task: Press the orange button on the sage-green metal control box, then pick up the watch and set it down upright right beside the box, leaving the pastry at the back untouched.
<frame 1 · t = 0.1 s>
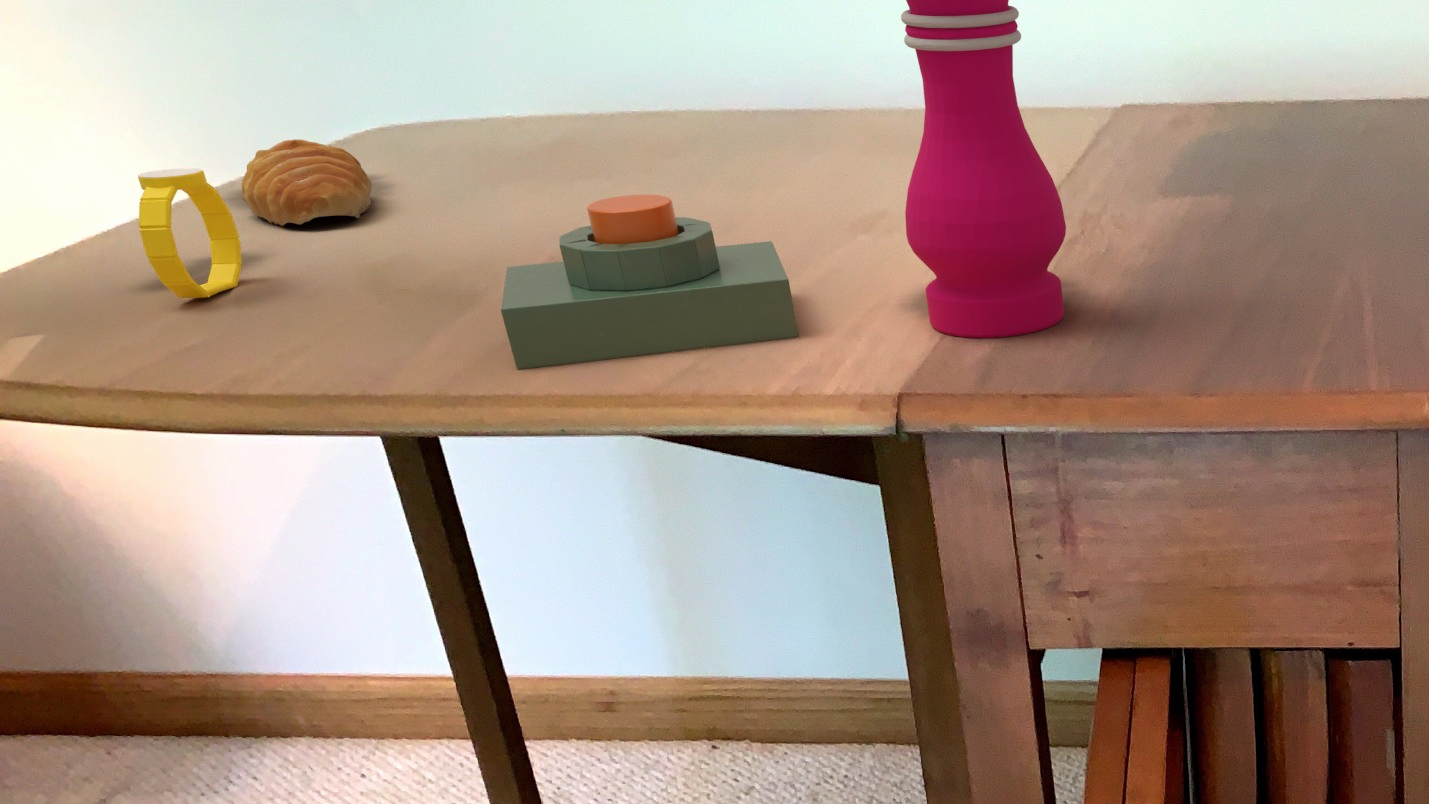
pepper mill: (998, 324, 81), on the table
button: (633, 222, 77), point 5 cm above the table, slide at 0.1 cm
pastry: (321, 216, 103), on the table
control box: (658, 330, 80), on the table
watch: (212, 297, 87), on the table
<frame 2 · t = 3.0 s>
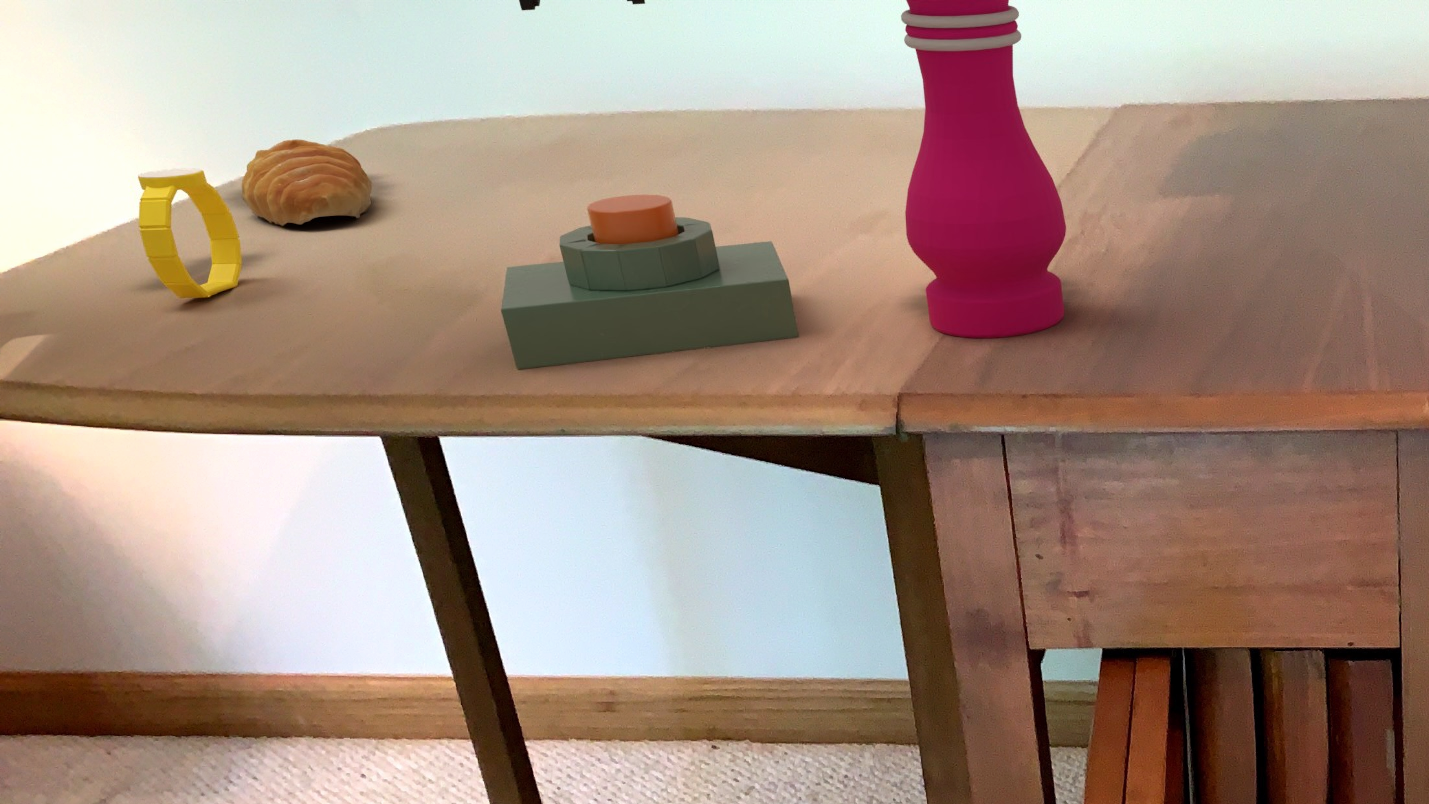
nothing on the table moved.
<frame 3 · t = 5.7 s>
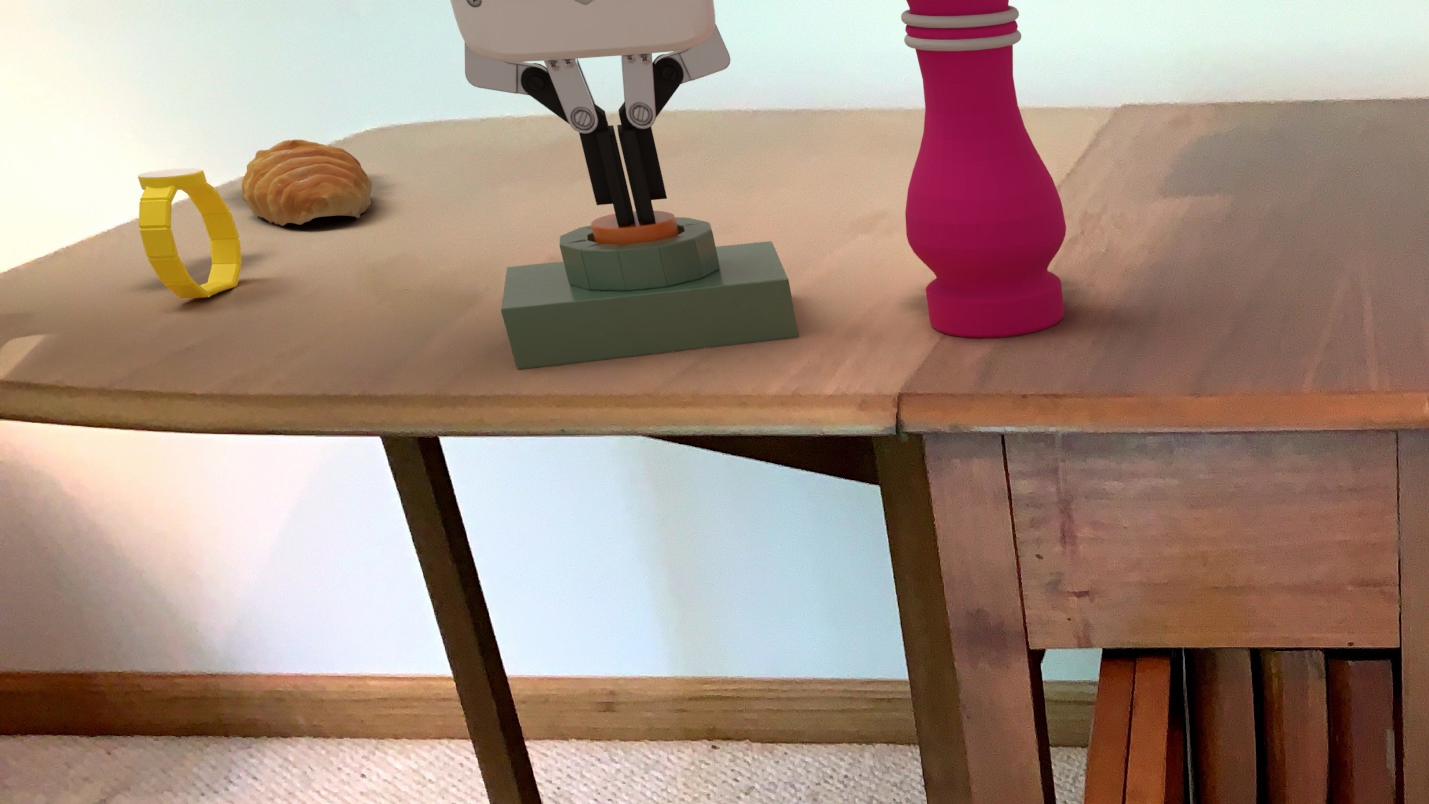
hand: (636, 218, 77), 5 cm above the table, tool pointing down, fingers closed
button: (637, 238, 78), point 4 cm above the table, slide at -0.6 cm, touching gripper
everything else where it was.
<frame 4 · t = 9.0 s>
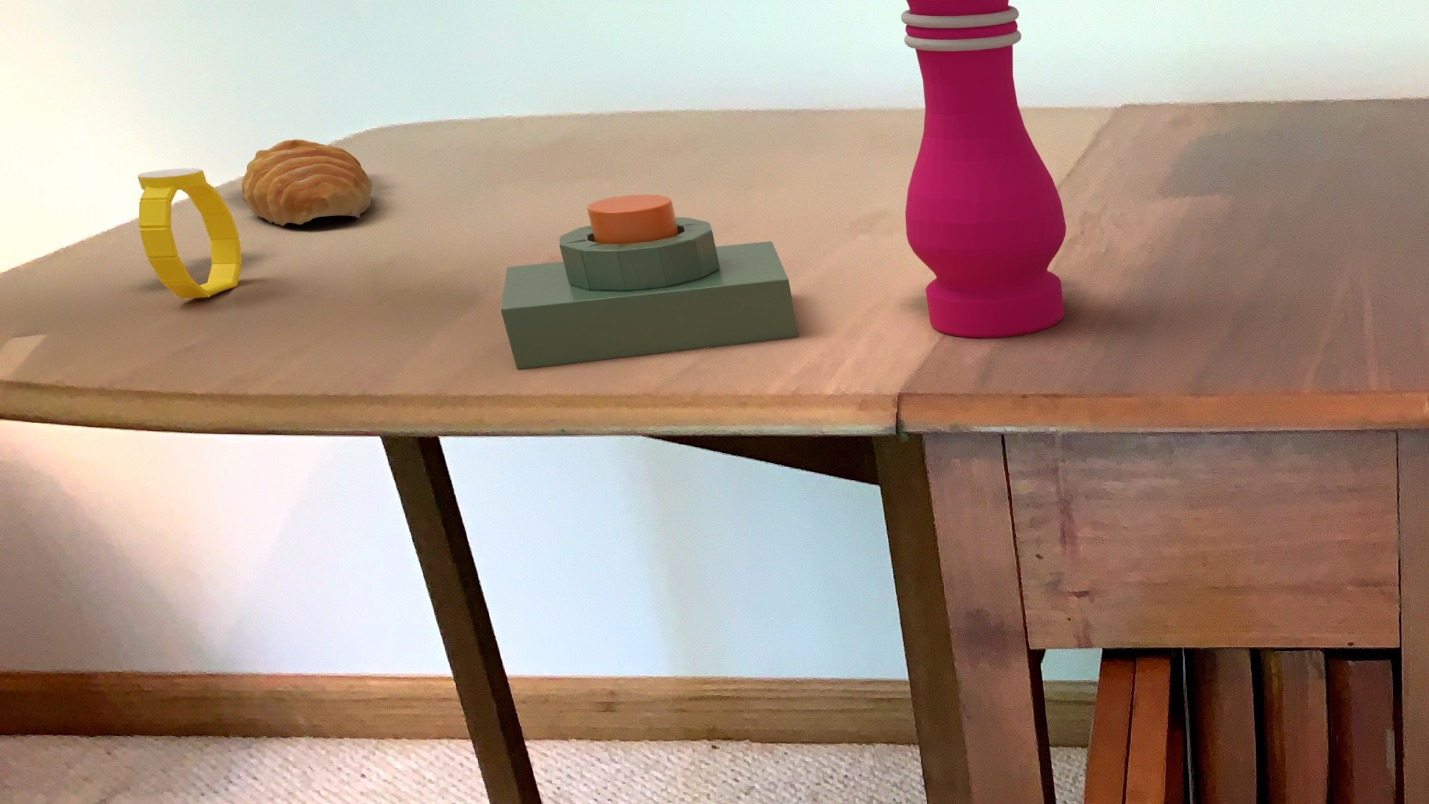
button: (633, 222, 77), point 5 cm above the table, slide at 0.1 cm
everything else where it was.
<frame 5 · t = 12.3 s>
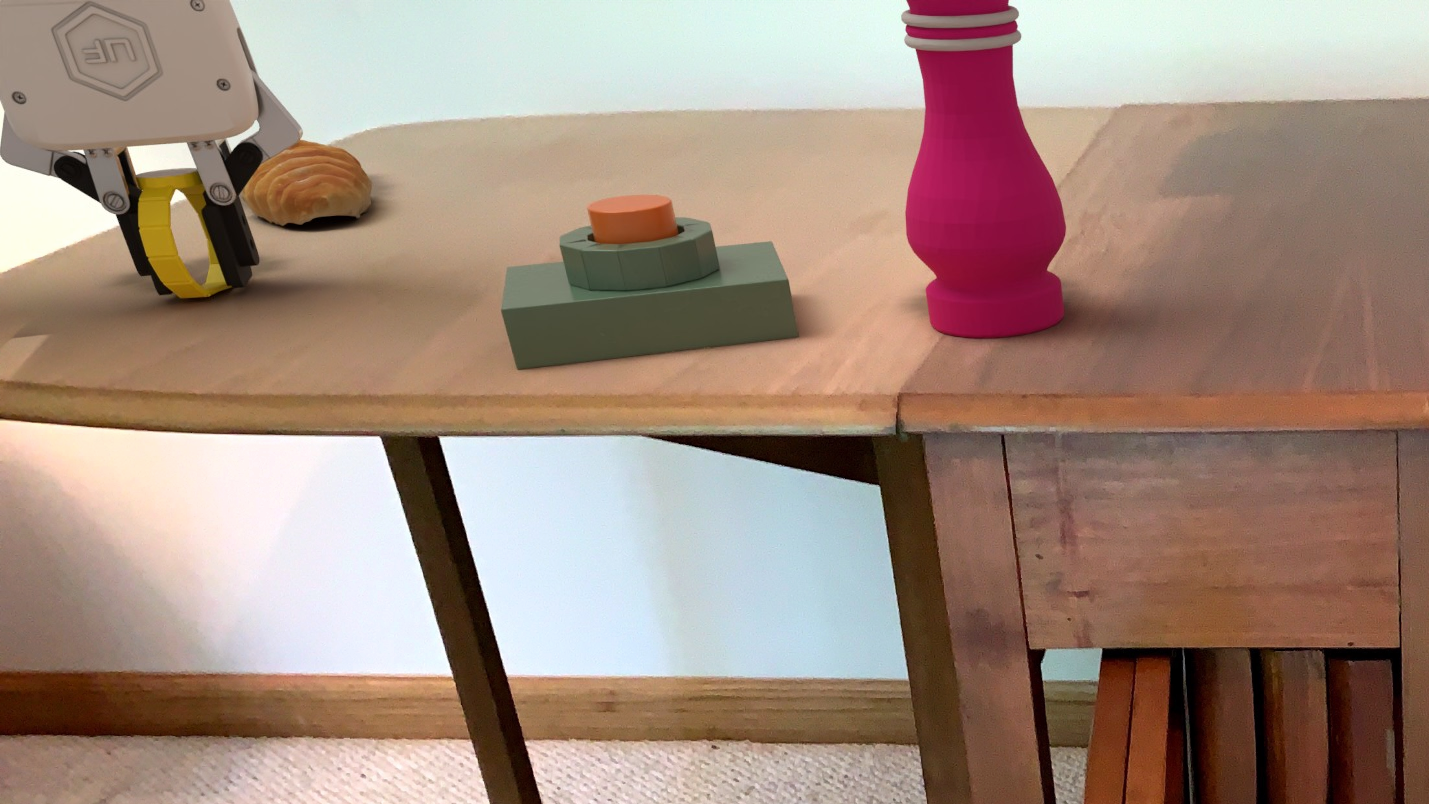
hand: (205, 282, 86), 1 cm above the table, tool pointing down, fingers closed on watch, 2 cm apart
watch: (211, 297, 87), on the table, touching gripper
everything else where it was.
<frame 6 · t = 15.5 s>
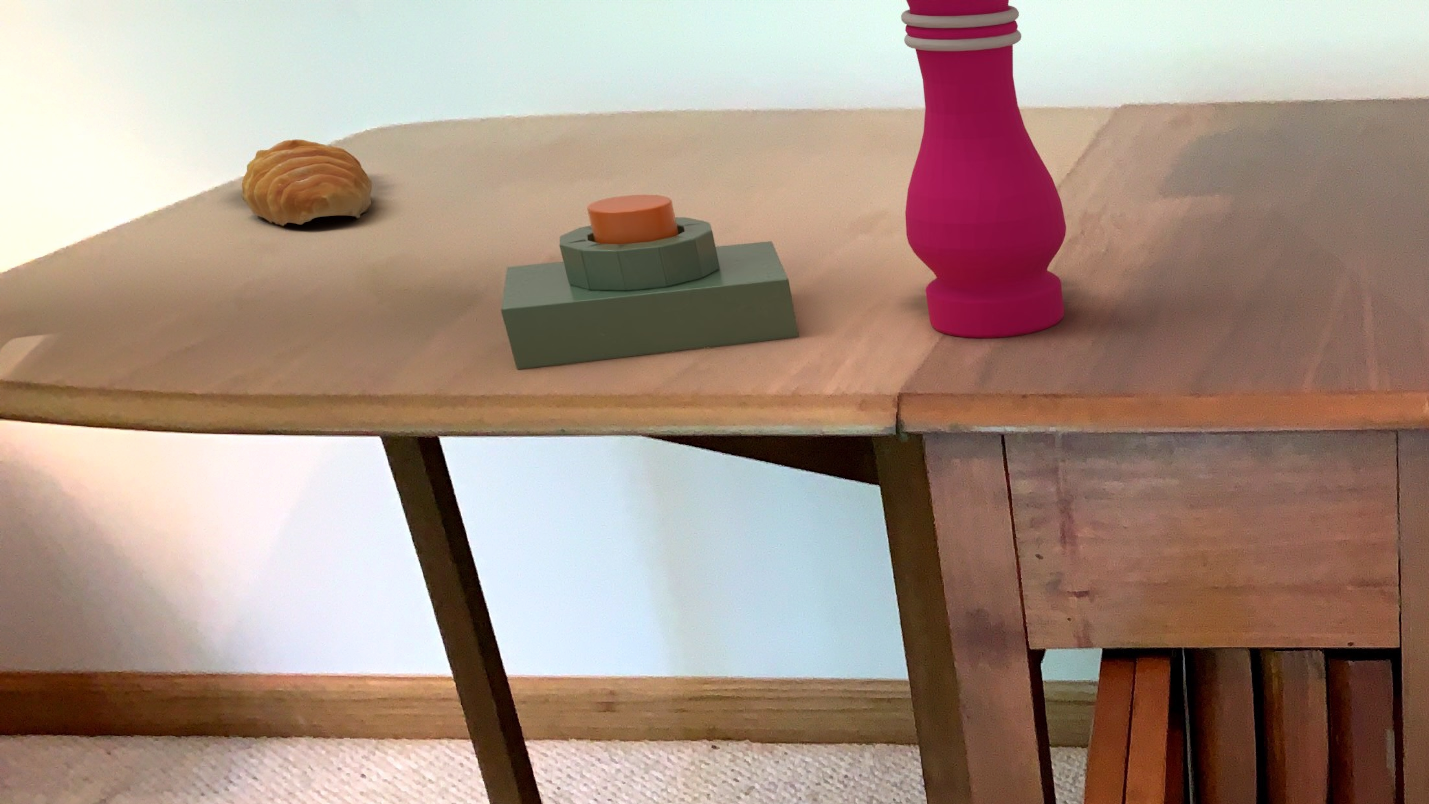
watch: (563, 0, 81), point 13 cm above the table, touching gripper
everything else where it was.
when the fingers open (1 cm above the table, at t = 18.7 s): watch stays where it is, on the table.
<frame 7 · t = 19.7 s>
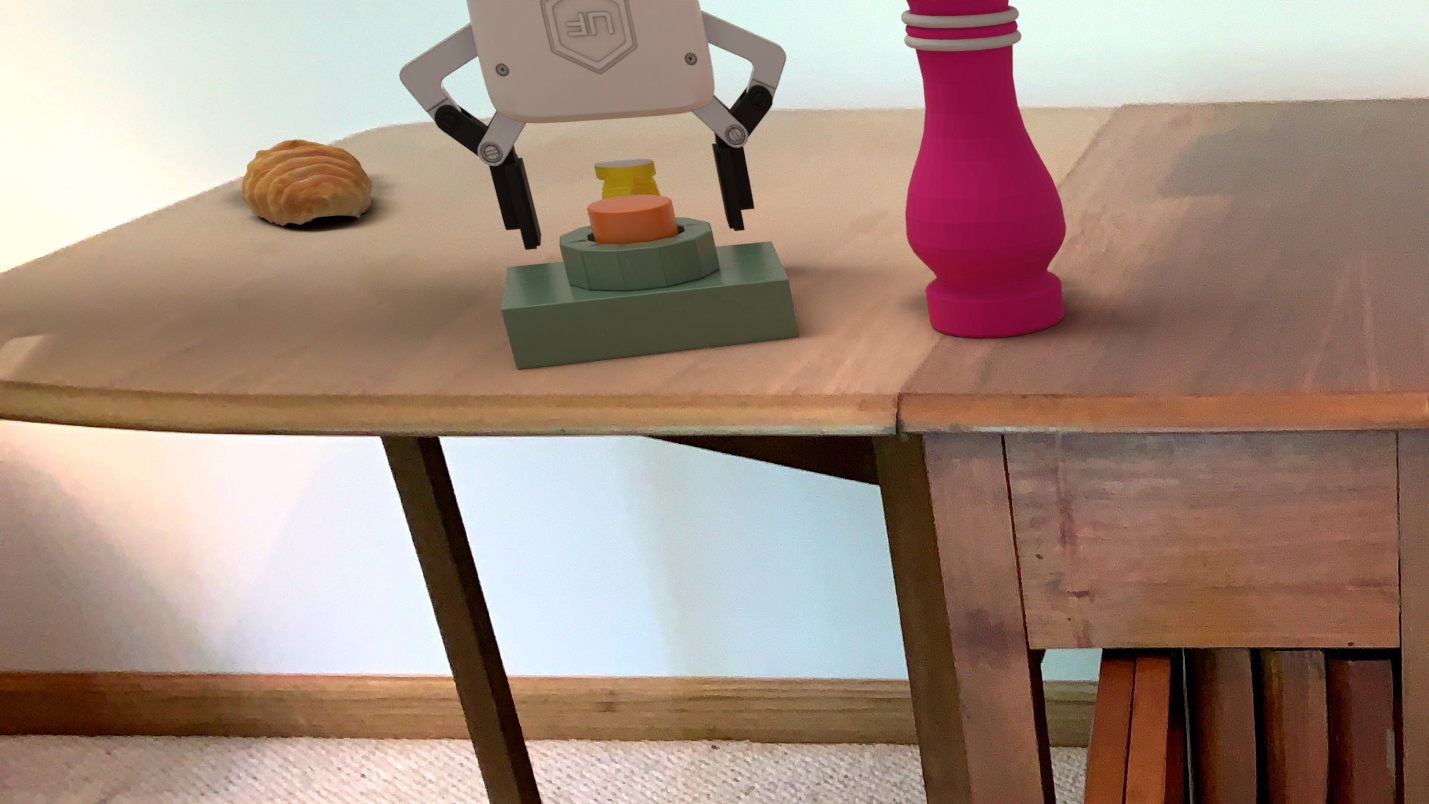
hand: (636, 234, 86), 2 cm above the table, tool pointing down, fingers open, 9 cm apart
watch: (650, 287, 88), on the table
everything else where it was.
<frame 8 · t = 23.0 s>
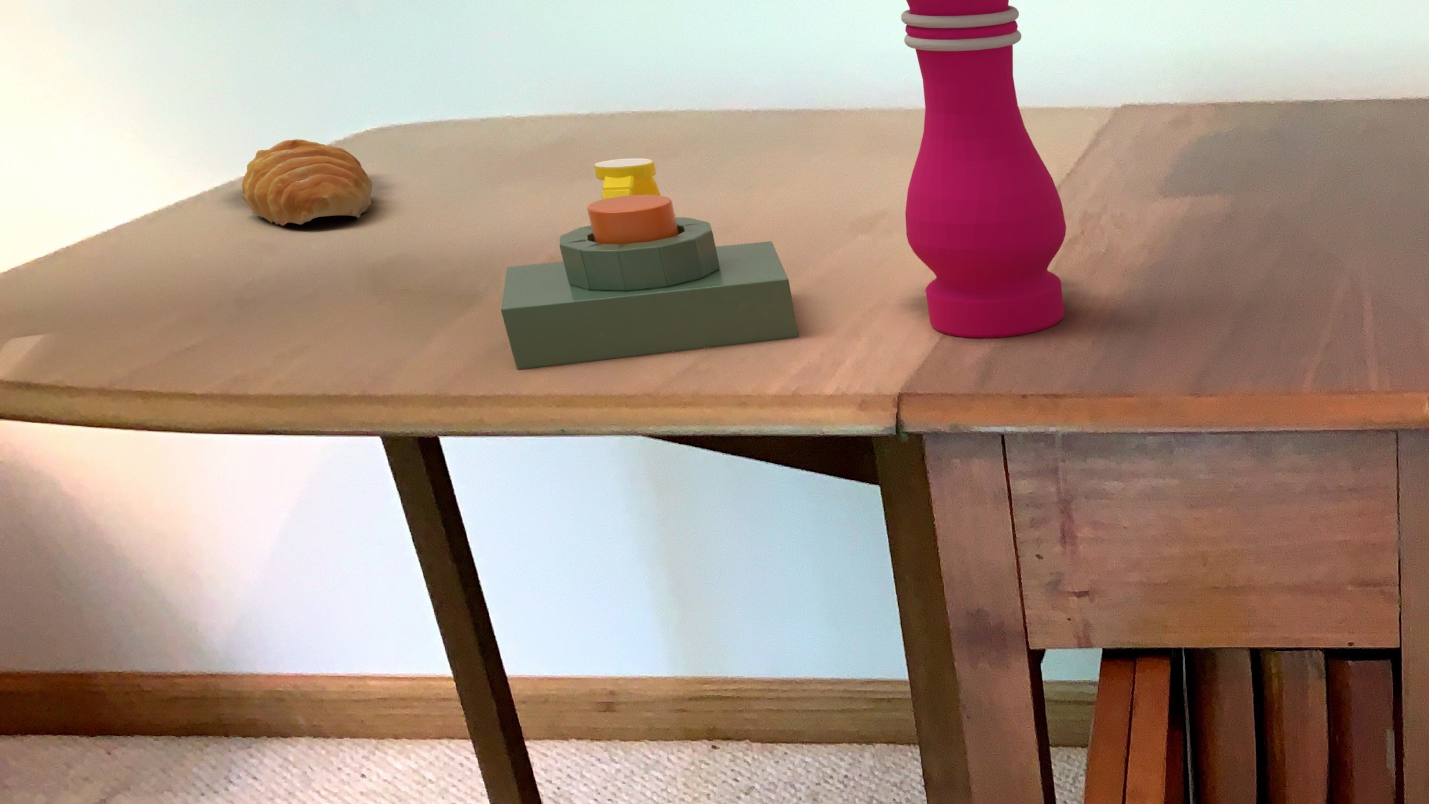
nothing on the table moved.
at the end: button pushed in 1.1 cm at the most during the clip, back to where it started at the end; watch inside the target area on the table beside the control box (0.3 cm from its centre), on the table; pastry moved 0.2 cm from its start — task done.
